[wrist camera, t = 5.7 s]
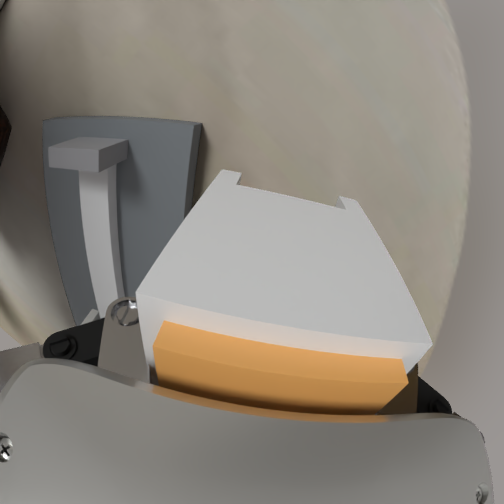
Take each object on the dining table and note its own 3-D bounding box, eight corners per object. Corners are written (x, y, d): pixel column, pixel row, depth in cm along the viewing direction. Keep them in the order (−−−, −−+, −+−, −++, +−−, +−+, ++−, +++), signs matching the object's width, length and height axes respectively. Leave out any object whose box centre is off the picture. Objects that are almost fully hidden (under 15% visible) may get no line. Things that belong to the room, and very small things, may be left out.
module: (222, 169, 11) (120, 317, 4) (356, 200, 11) (441, 367, 4) (205, 299, 14) (159, 444, 7) (308, 320, 14) (312, 467, 8)
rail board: (56, 117, 15) (-48, 153, 6) (202, 123, 15) (103, 157, 6) (97, 356, 29) (65, 415, 21) (184, 387, 29) (162, 457, 21)
